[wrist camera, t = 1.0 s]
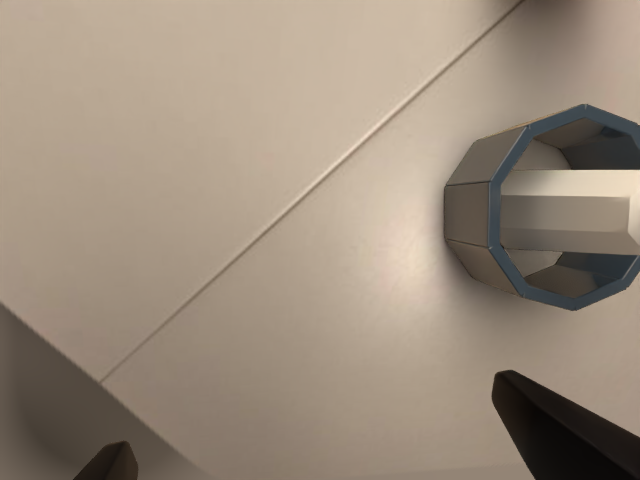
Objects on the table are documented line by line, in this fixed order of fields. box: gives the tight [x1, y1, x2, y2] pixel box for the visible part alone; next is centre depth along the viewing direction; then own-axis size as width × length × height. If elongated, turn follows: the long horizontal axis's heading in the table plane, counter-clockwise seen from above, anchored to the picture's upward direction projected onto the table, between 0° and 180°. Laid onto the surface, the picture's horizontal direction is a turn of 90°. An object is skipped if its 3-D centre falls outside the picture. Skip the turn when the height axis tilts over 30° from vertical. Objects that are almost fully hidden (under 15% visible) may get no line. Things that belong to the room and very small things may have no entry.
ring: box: [445, 104, 640, 311], centre depth 20 cm, size 10×11×4 cm
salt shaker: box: [500, 170, 640, 255], centre depth 17 cm, size 5×5×11 cm
